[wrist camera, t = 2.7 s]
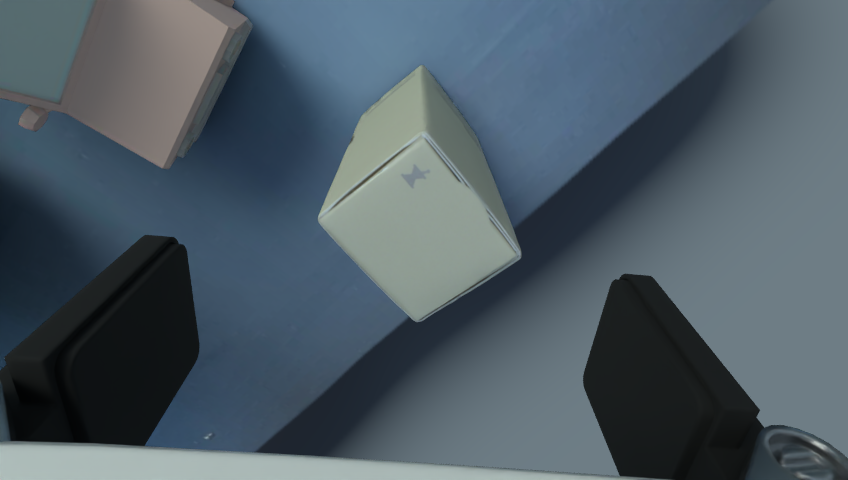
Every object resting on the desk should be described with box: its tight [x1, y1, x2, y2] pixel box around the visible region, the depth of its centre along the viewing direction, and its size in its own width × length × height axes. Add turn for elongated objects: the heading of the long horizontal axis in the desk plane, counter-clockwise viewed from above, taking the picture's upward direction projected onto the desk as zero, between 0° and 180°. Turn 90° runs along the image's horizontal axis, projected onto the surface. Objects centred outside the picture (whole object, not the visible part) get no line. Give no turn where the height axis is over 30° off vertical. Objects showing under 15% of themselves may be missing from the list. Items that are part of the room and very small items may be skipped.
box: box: [318, 65, 522, 322], centre depth 20 cm, size 5×4×13 cm
